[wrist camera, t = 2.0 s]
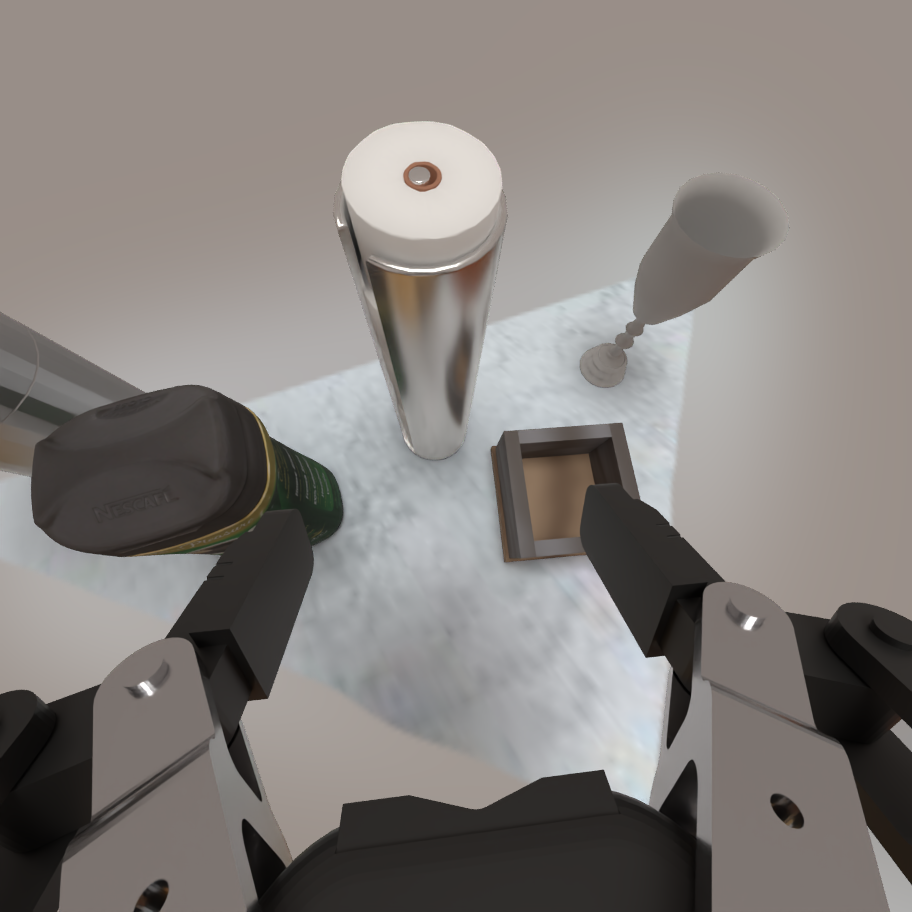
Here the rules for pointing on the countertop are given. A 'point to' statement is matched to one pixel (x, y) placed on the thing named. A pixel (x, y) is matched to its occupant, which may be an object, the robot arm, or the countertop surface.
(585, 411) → the countertop surface
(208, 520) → the coffee jar
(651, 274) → the chalice
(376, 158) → the silver metal cylinder
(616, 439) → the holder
